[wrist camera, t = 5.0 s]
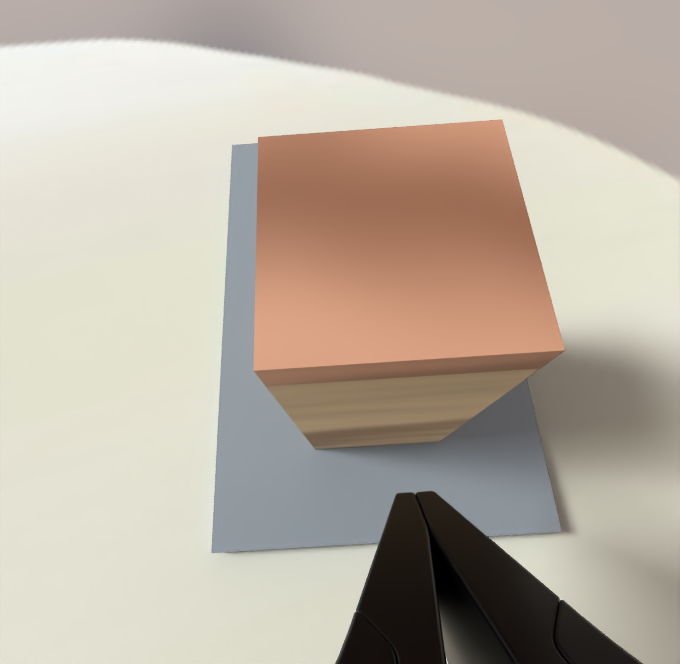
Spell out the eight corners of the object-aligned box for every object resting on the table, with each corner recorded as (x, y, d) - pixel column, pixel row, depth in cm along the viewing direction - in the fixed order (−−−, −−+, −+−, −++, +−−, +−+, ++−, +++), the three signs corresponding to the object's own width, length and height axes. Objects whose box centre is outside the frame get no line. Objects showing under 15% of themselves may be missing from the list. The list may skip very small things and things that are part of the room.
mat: (554, 530, 16) (562, 532, 16) (216, 551, 16) (211, 552, 16) (466, 136, 24) (469, 128, 23) (235, 153, 24) (232, 145, 23)
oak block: (439, 441, 17) (564, 350, 7) (314, 449, 17) (253, 370, 7) (423, 326, 19) (502, 119, 9) (311, 334, 19) (258, 136, 9)
